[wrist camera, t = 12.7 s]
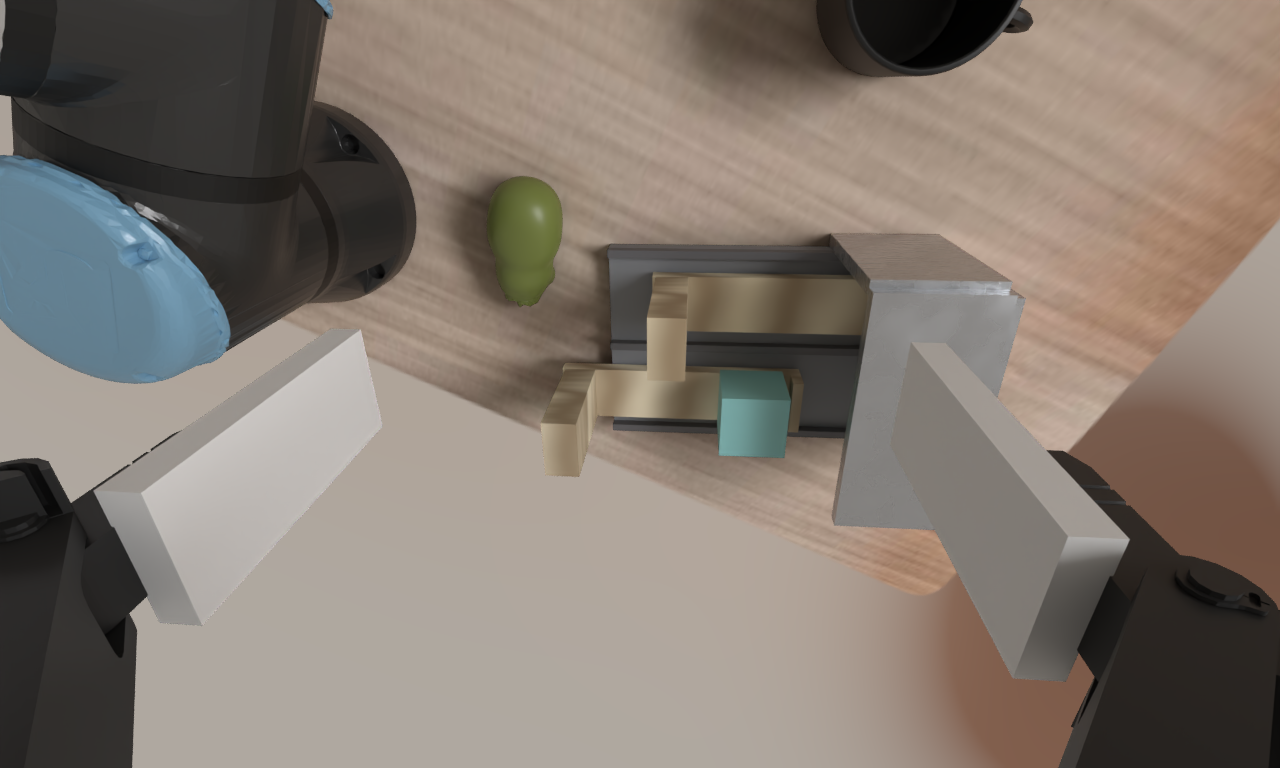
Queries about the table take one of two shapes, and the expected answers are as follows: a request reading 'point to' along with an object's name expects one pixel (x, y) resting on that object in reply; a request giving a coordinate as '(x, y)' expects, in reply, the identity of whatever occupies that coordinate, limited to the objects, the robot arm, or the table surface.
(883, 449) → the grey open box shape
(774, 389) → the block
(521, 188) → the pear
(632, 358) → the lane board
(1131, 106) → the table surface
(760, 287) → the strip near
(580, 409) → the wooden l-shaped bracket
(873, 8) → the mug
